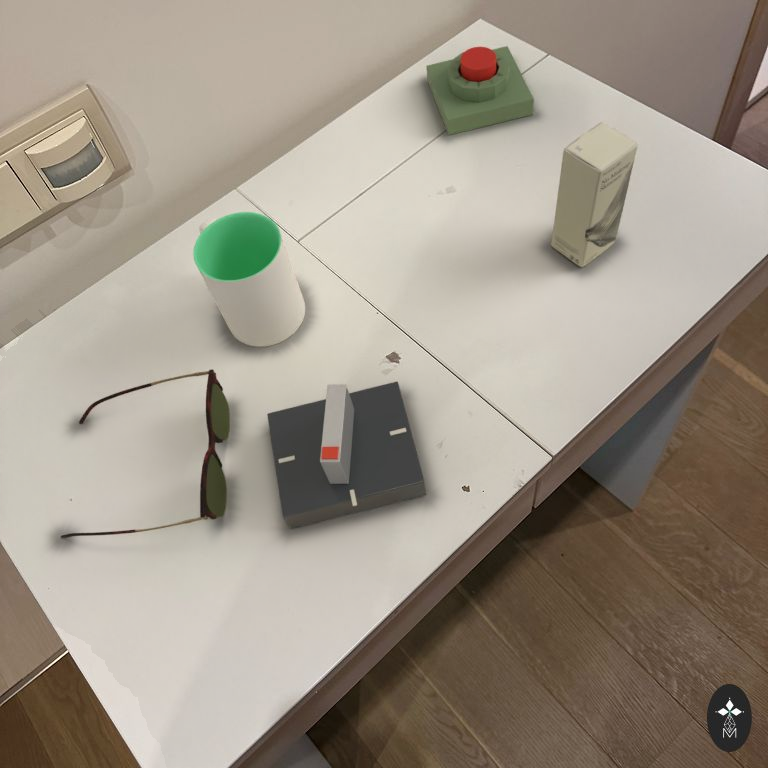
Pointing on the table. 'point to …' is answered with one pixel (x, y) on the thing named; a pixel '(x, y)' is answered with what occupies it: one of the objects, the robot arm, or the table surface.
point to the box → (592, 192)
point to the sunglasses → (212, 473)
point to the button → (478, 64)
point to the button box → (479, 94)
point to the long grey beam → (337, 434)
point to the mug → (250, 277)
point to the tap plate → (367, 466)
